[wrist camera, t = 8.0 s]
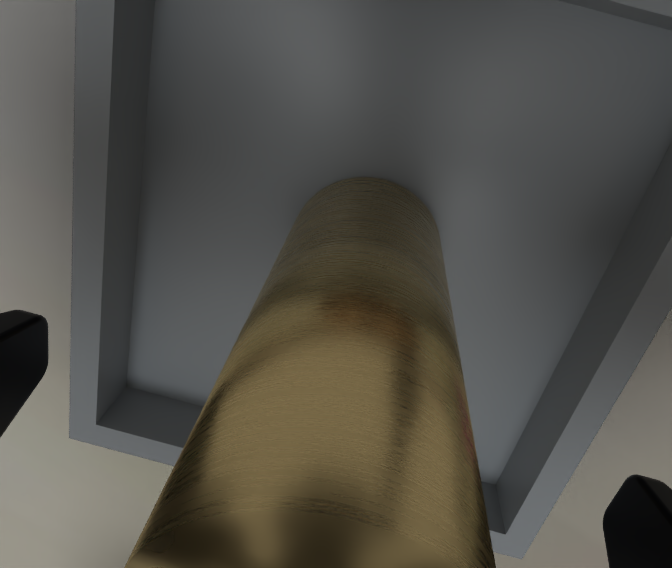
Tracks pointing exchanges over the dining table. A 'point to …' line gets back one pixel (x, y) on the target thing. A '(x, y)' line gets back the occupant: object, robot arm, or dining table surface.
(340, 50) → the tray
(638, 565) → the robot arm
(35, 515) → the dining table surface
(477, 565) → the pin
